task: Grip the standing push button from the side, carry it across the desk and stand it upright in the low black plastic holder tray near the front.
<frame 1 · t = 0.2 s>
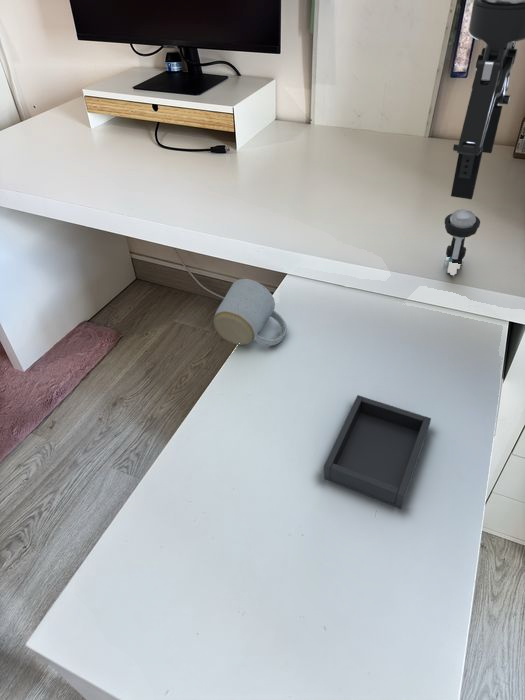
hand: (472, 172, 72), 19 cm above the table, tool pointing down, fingers open, 13 cm apart
ceramic mug: (254, 331, 81), on the table
push button: (452, 269, 87), on the table
holder: (377, 454, 63), on the table
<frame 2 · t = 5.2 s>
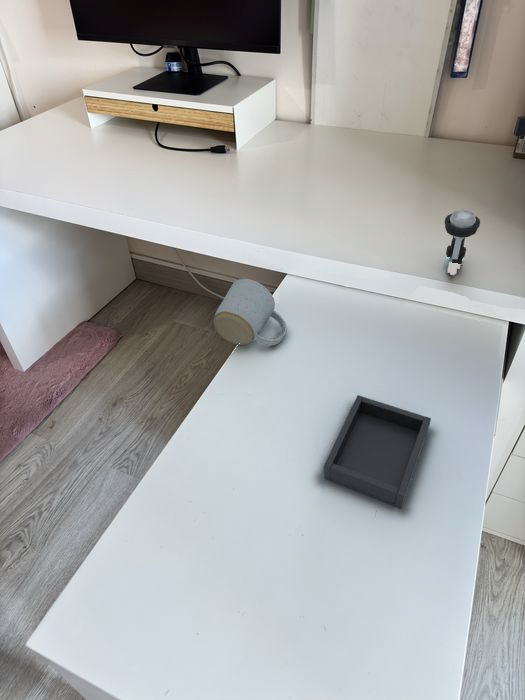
nothing on the table moved.
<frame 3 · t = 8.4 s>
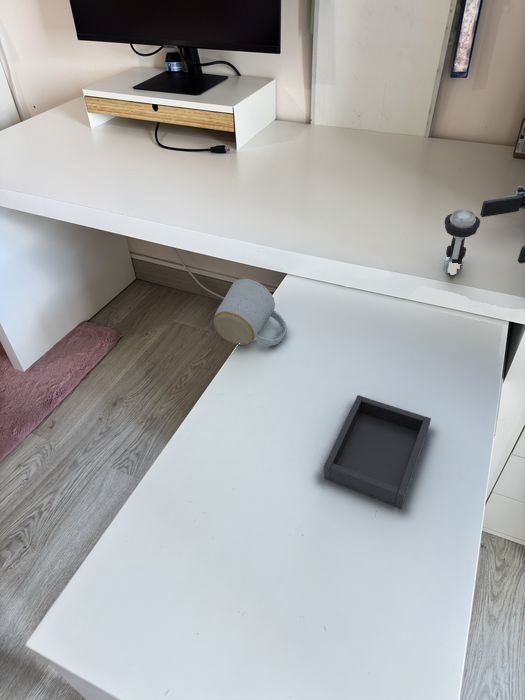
hand: (500, 230, 82), 6 cm above the table, tool horizontal, fingers open, 13 cm apart
nothing on the table moved.
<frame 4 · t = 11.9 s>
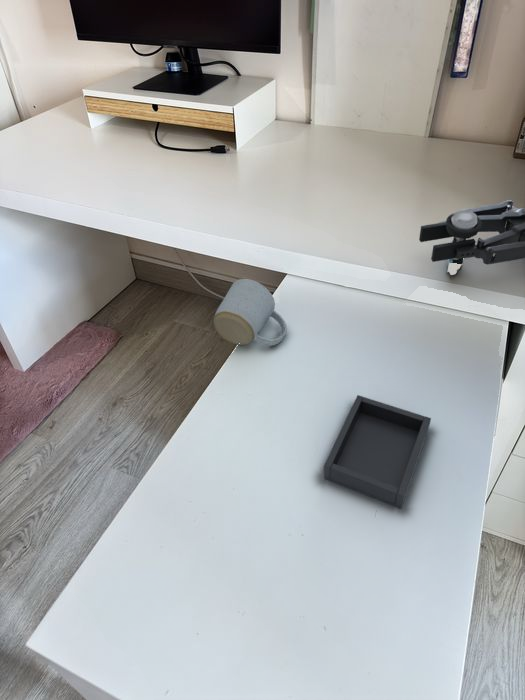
hand: (427, 243, 82), 6 cm above the table, tool horizontal, fingers closed on push button, 5 cm apart
push button: (452, 269, 87), on the table, touching gripper
everything else where it was.
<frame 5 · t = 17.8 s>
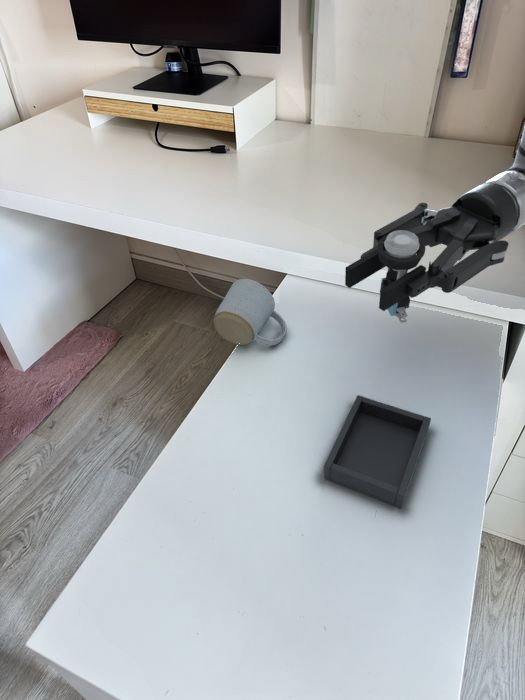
hand: (364, 288, 58), 18 cm above the table, tool horizontal, fingers closed on push button, 5 cm apart
push button: (393, 308, 64), point 12 cm above the table, touching gripper
everything else where it was.
when the fingers open (6 cm above the table, at t = 23.6 s): push button stays where it is, resting on holder.
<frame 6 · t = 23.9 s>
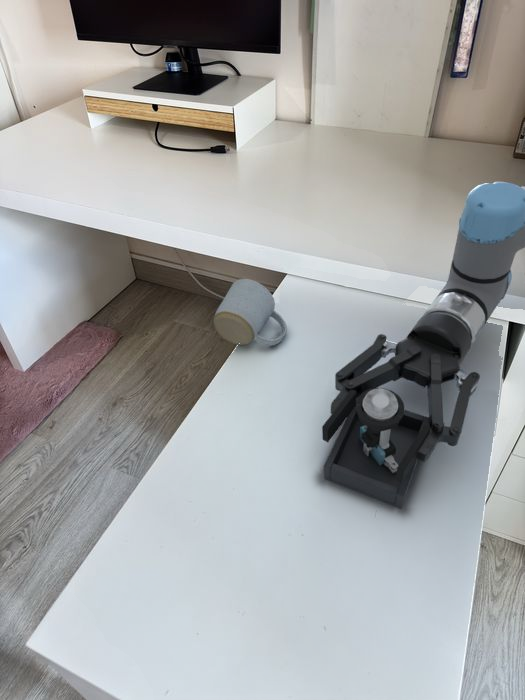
hand: (360, 454, 57), 6 cm above the table, tool horizontal, fingers open, 9 cm apart
push button: (378, 454, 63), resting on holder
everything else where it was.
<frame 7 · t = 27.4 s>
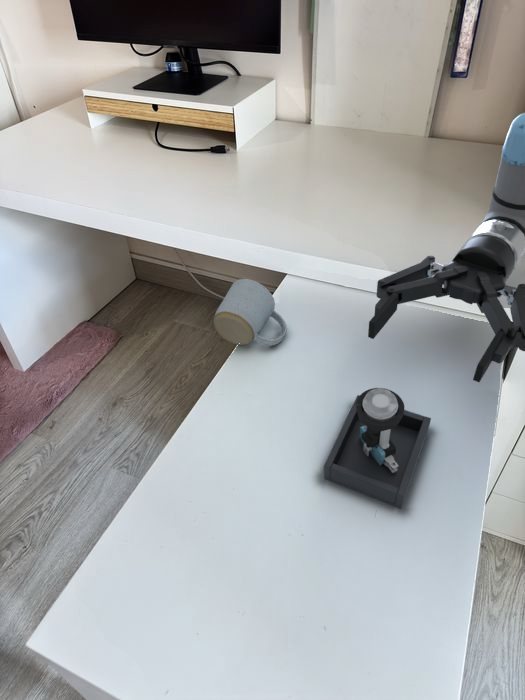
hand: (421, 351, 60), 11 cm above the table, tool horizontal, fingers open, 13 cm apart
nothing on the table moved.
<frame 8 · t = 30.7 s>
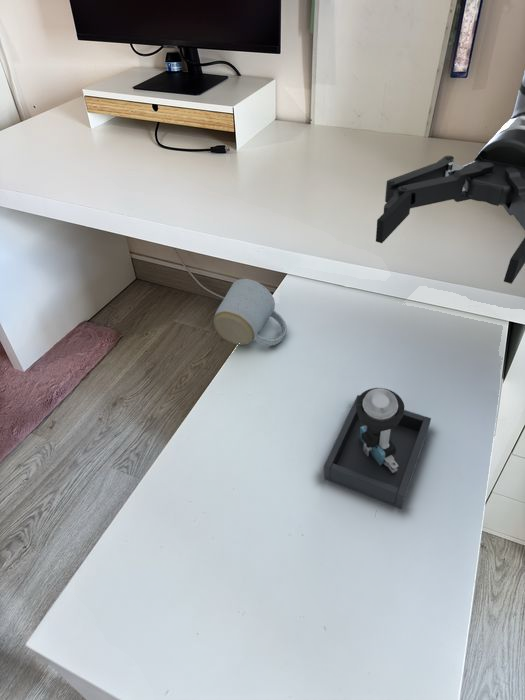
hand: (440, 250, 50), 25 cm above the table, tool horizontal, fingers open, 13 cm apart
nothing on the table moved.
at the end: push button 0.1 cm off-centre in the holder, point 0.3 cm above the holder's base; push button tilted 0°; the gripper is holding nothing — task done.
